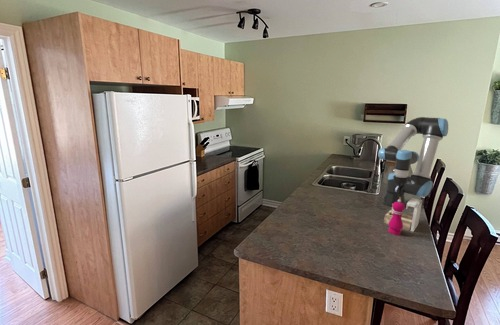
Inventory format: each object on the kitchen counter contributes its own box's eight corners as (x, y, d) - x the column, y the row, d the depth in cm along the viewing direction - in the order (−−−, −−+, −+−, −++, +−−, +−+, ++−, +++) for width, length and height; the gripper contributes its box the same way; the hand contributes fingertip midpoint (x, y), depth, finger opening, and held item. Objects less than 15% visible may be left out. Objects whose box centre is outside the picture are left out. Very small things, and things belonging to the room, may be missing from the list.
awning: (407, 222, 167) (411, 197, 163) (418, 224, 163) (422, 200, 160) (402, 228, 158) (406, 203, 155) (413, 231, 155) (417, 205, 151)
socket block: (389, 216, 174) (390, 209, 173) (414, 223, 165) (415, 216, 163) (383, 222, 165) (384, 215, 164) (409, 230, 156) (410, 222, 155)
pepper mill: (394, 236, 149) (399, 202, 145) (384, 230, 156) (389, 197, 151) (404, 234, 151) (410, 201, 146) (394, 228, 158) (399, 196, 153)
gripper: (397, 172, 169) (392, 207, 174) (389, 177, 156) (384, 214, 162) (411, 174, 164) (405, 210, 169) (404, 180, 151) (397, 218, 157)
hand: (395, 212), depth 165 cm, fingers closed on peg, 4 cm apart
